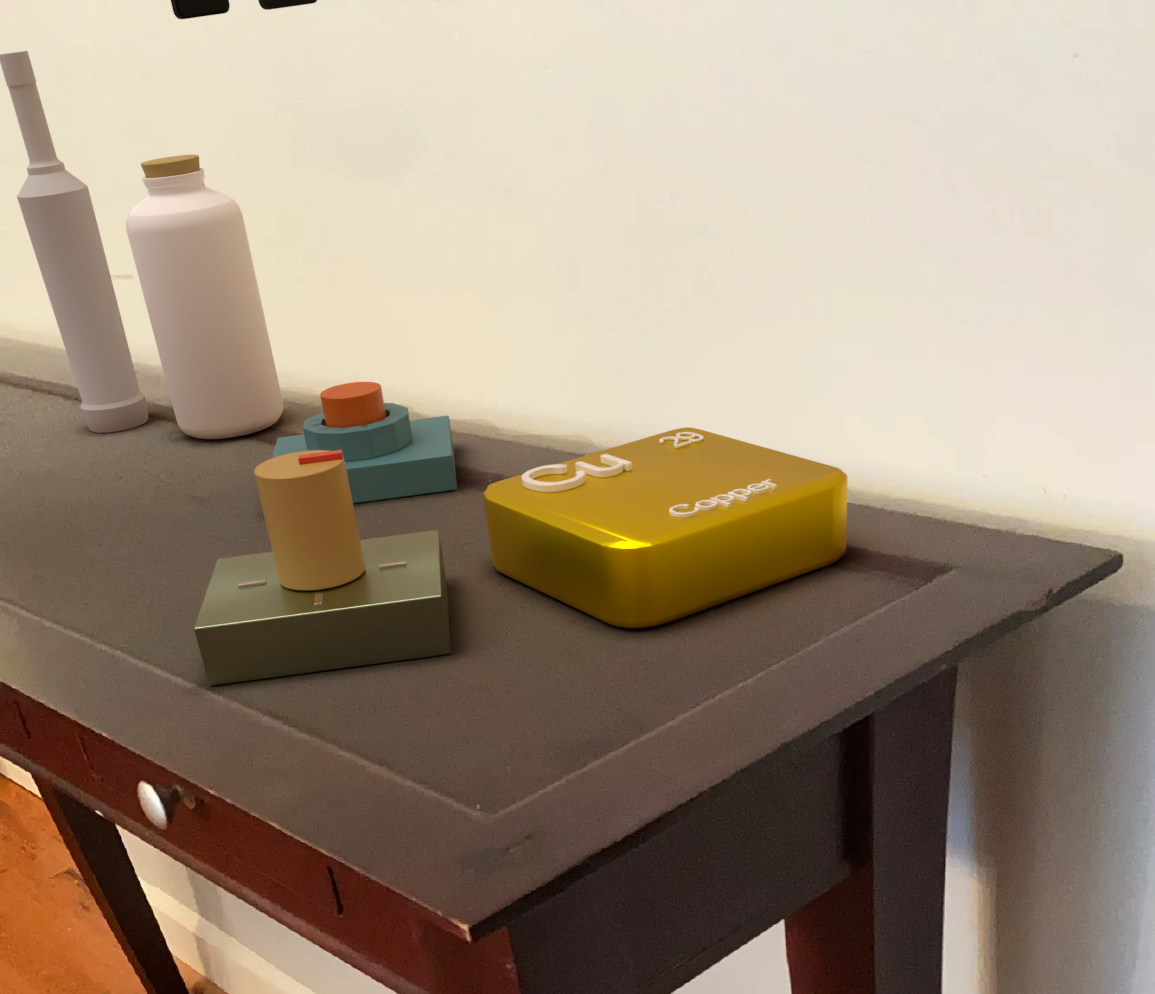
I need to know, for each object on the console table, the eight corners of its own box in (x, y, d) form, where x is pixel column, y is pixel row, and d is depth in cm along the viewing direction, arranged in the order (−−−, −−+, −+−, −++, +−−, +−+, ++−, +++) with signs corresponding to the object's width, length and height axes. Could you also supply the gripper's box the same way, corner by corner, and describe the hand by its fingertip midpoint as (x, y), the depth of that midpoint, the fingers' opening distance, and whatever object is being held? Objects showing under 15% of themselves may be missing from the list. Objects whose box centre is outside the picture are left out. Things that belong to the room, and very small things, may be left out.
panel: (209, 686, 69) (192, 625, 67) (230, 612, 77) (215, 555, 75) (451, 654, 69) (441, 592, 67) (447, 583, 77) (437, 526, 75)
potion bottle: (307, 413, 111) (251, 146, 100) (245, 444, 105) (180, 165, 94) (222, 411, 114) (159, 153, 103) (158, 442, 108) (85, 172, 97)
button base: (273, 514, 91) (258, 450, 88) (284, 470, 98) (270, 410, 96) (457, 490, 91) (447, 425, 88) (453, 447, 99) (444, 387, 96)
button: (325, 434, 91) (318, 401, 90) (327, 419, 94) (321, 386, 93) (386, 426, 91) (380, 393, 90) (387, 411, 94) (381, 378, 93)
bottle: (76, 427, 115) (-36, 58, 99) (134, 412, 117) (33, 49, 102) (103, 437, 111) (-9, 56, 96) (161, 420, 114) (61, 46, 98)
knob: (276, 596, 70) (247, 476, 66) (282, 566, 73) (256, 450, 69) (364, 584, 70) (340, 463, 66) (366, 554, 73) (344, 438, 70)
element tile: (632, 639, 68) (624, 541, 66) (479, 566, 79) (466, 478, 76) (863, 555, 74) (865, 462, 71) (692, 498, 85) (688, 414, 82)
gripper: (3, -405, 68) (112, 28, 78) (156, -512, 56) (260, 12, 67) (145, -404, 71) (232, 11, 81) (317, -505, 60) (392, -7, 70)
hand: (244, 11), depth 74 cm, fingers open, 9 cm apart
